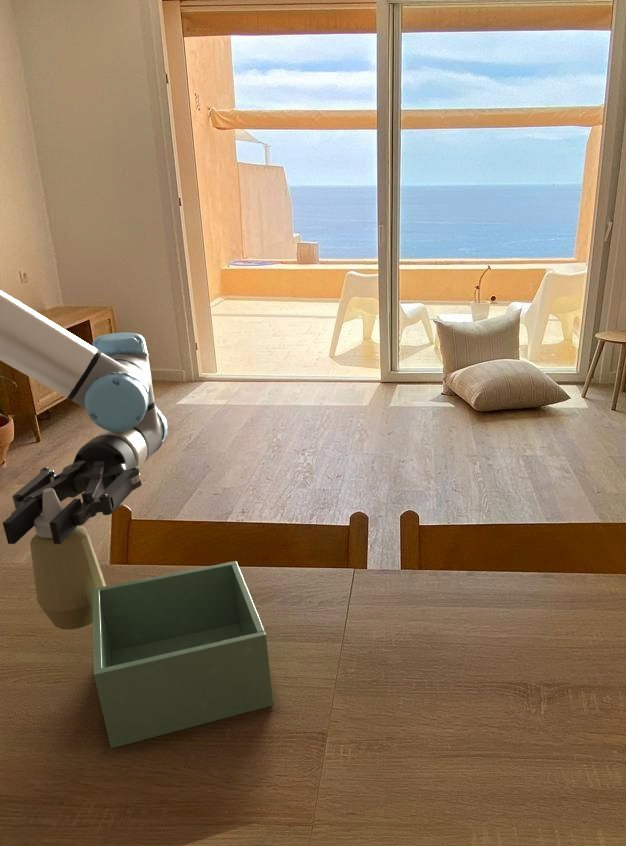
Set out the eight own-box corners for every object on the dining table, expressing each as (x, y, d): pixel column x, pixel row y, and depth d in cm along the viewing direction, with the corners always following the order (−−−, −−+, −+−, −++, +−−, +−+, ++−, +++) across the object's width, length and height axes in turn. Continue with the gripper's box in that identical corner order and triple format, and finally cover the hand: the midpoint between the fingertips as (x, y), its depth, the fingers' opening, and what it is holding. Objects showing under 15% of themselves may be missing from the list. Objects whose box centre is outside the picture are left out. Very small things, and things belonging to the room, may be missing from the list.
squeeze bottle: (29, 630, 87) (-6, 499, 80) (73, 596, 94) (44, 473, 87) (83, 641, 85) (52, 508, 77) (124, 605, 92) (99, 480, 84)
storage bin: (106, 654, 89) (92, 588, 85) (243, 623, 95) (236, 560, 90) (111, 748, 74) (93, 674, 70) (273, 705, 80) (266, 634, 76)
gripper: (175, 482, 101) (114, 562, 80) (56, 482, 101) (-37, 562, 80) (168, 433, 98) (102, 503, 77) (45, 434, 98) (-54, 503, 77)
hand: (32, 533), depth 78 cm, fingers closed on squeeze bottle, 5 cm apart
